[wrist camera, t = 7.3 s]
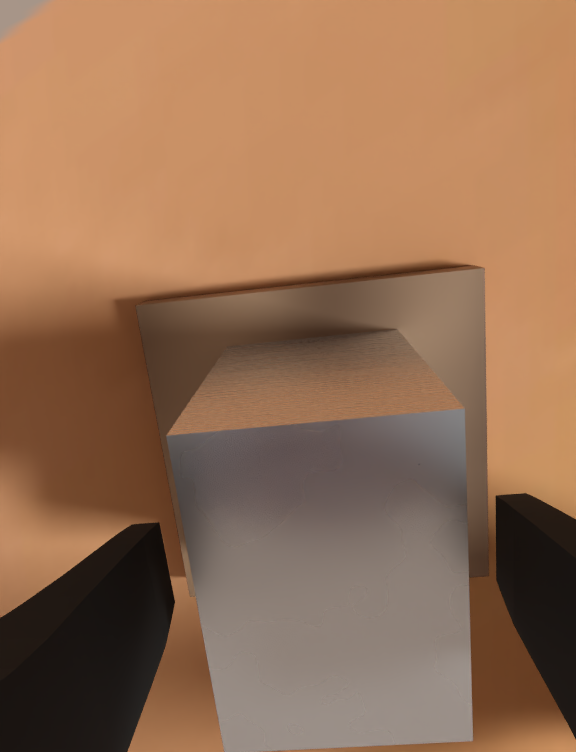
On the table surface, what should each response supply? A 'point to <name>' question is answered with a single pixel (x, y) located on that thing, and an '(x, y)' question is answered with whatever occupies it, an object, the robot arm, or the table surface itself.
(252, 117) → the table surface
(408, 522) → the brushed steel brick
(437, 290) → the thin tan panel
